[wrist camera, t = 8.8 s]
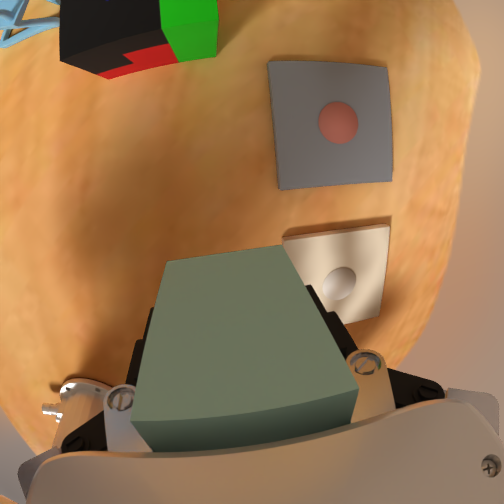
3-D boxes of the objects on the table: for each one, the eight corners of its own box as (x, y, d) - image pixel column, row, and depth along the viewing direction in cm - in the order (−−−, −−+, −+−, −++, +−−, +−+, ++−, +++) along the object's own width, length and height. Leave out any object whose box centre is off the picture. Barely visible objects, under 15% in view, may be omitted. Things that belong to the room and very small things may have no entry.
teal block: (190, 347, 15) (189, 492, 7) (166, 261, 12) (130, 421, 5) (286, 333, 15) (334, 471, 8) (282, 244, 13) (359, 388, 6)
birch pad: (286, 330, 35) (288, 336, 34) (281, 237, 30) (284, 241, 29) (375, 311, 36) (379, 316, 35) (385, 223, 31) (390, 227, 30)
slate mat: (278, 188, 28) (281, 190, 27) (266, 63, 23) (269, 60, 22) (387, 179, 29) (392, 181, 28) (382, 68, 24) (387, 67, 23)
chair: (55, 45, 18) (-15, 19, 7) (1, 48, 16) (-68, 36, 5) (82, -18, 16) (32, -66, 5) (26, -11, 14) (-31, -41, 3)
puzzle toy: (105, -5, 17) (66, -48, 8) (206, -28, 18) (206, -84, 9) (108, 79, 21) (59, 61, 12) (216, 56, 22) (218, 19, 13)
